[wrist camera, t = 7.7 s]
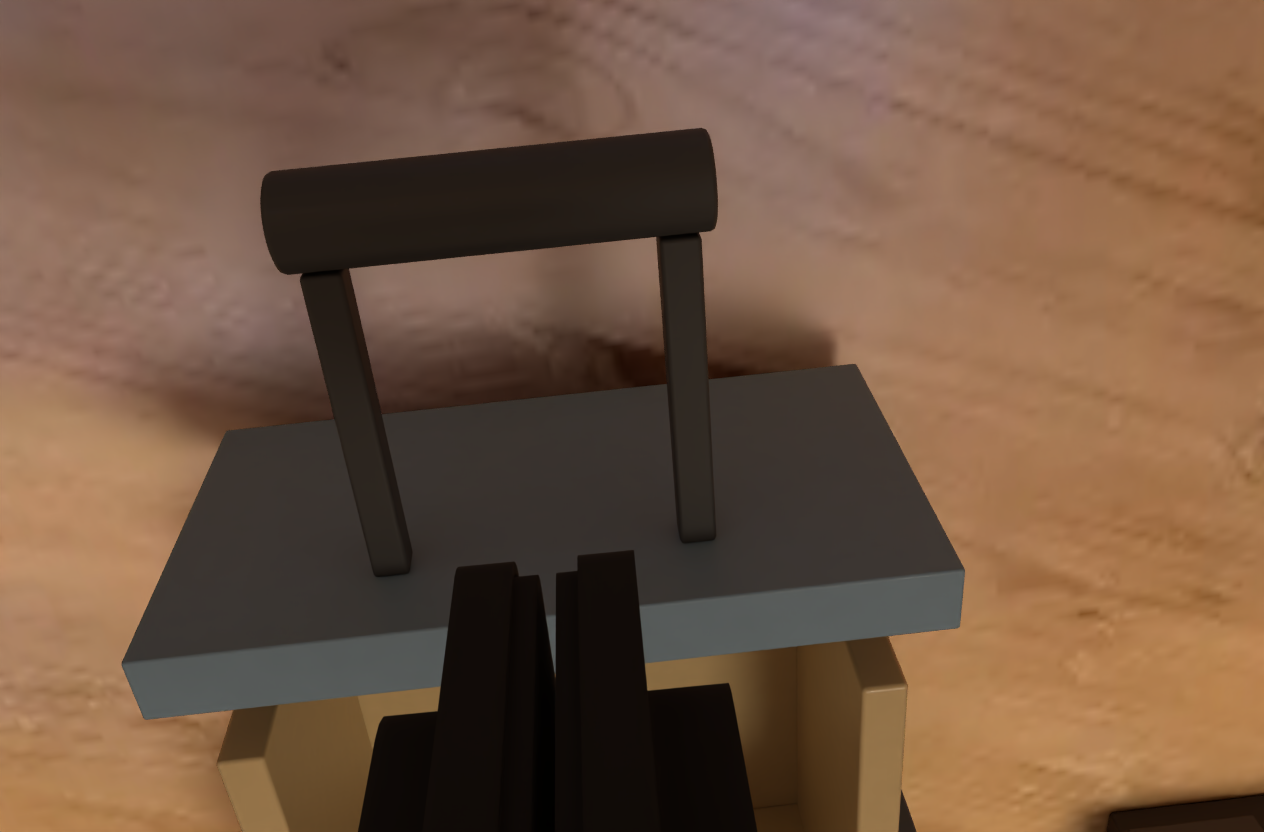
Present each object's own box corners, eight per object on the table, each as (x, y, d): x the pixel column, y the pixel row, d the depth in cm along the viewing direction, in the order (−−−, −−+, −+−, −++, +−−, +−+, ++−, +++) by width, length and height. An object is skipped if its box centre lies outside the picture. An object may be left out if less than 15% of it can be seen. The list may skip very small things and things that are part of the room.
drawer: (122, 98, 19) (-56, 248, 13) (865, 25, 20) (1006, 141, 14) (352, 839, 29) (307, 1111, 23) (845, 781, 29) (922, 1036, 24)
